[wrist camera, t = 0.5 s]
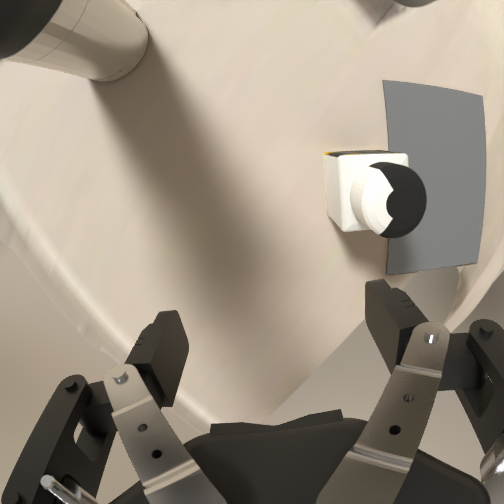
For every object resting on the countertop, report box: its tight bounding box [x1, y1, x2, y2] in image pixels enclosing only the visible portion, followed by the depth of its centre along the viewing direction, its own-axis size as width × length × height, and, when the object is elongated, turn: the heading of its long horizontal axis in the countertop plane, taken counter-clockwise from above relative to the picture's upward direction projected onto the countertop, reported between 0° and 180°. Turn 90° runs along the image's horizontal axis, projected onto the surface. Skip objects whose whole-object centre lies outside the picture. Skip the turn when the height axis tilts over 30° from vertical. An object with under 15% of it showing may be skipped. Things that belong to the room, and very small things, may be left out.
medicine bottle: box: [323, 150, 427, 238], centre depth 27 cm, size 7×7×12 cm
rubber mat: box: [382, 80, 486, 275], centre depth 31 cm, size 24×16×1 cm, turn 6°
